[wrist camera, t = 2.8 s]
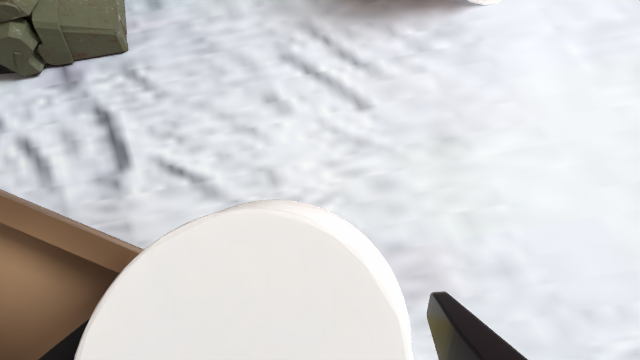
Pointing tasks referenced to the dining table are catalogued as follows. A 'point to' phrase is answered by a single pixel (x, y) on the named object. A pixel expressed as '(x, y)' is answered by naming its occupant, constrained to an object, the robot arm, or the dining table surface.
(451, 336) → the robot arm
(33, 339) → the walnut tray
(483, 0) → the beverage cup
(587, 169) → the dining table surface
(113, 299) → the supplement bottle
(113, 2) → the mechanical leg
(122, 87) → the dining table surface
